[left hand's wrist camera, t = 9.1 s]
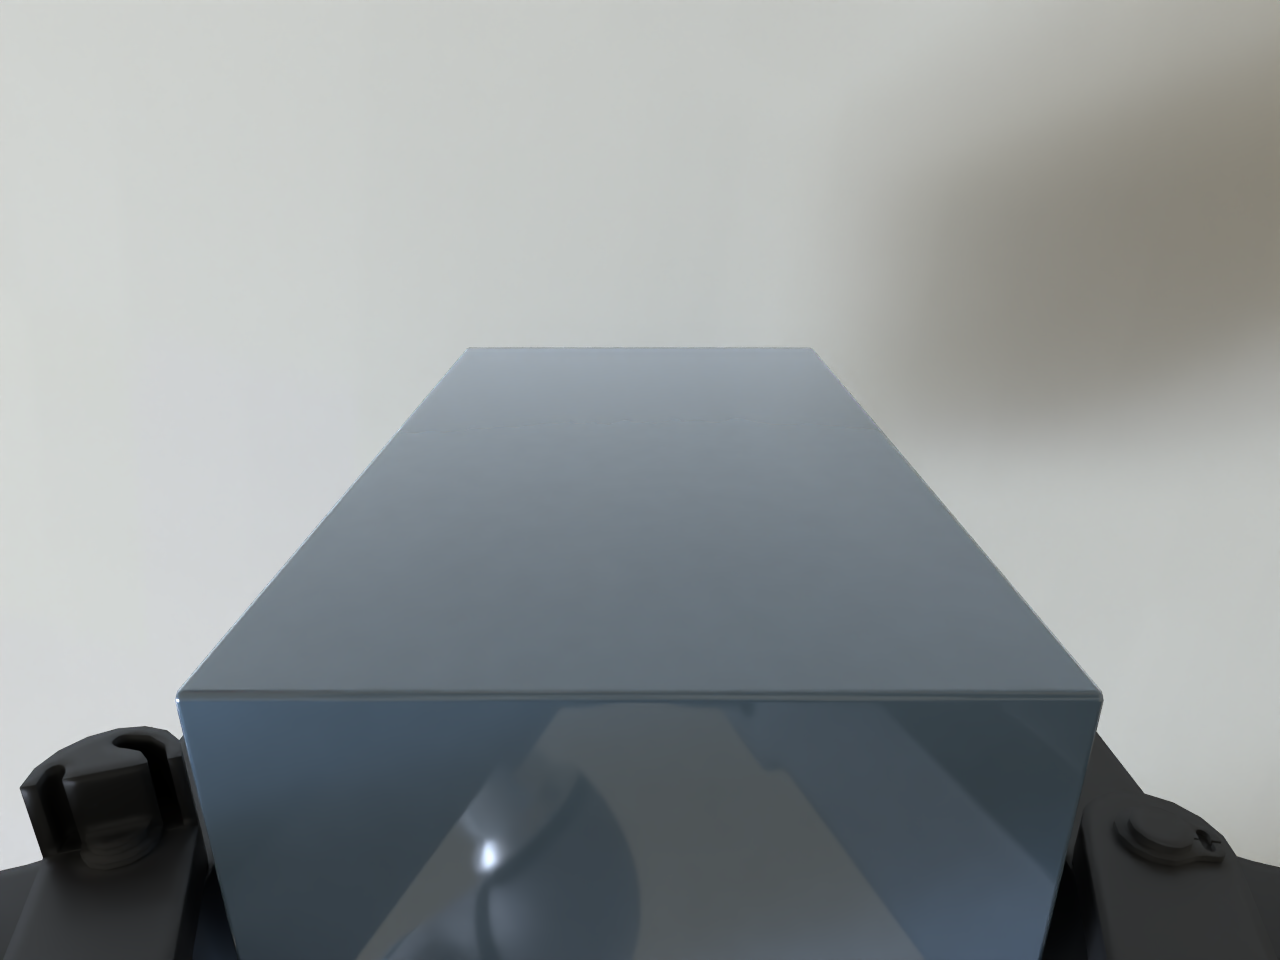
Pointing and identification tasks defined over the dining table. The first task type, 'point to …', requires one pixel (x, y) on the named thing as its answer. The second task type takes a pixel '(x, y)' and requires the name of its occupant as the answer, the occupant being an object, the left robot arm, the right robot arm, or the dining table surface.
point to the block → (639, 688)
